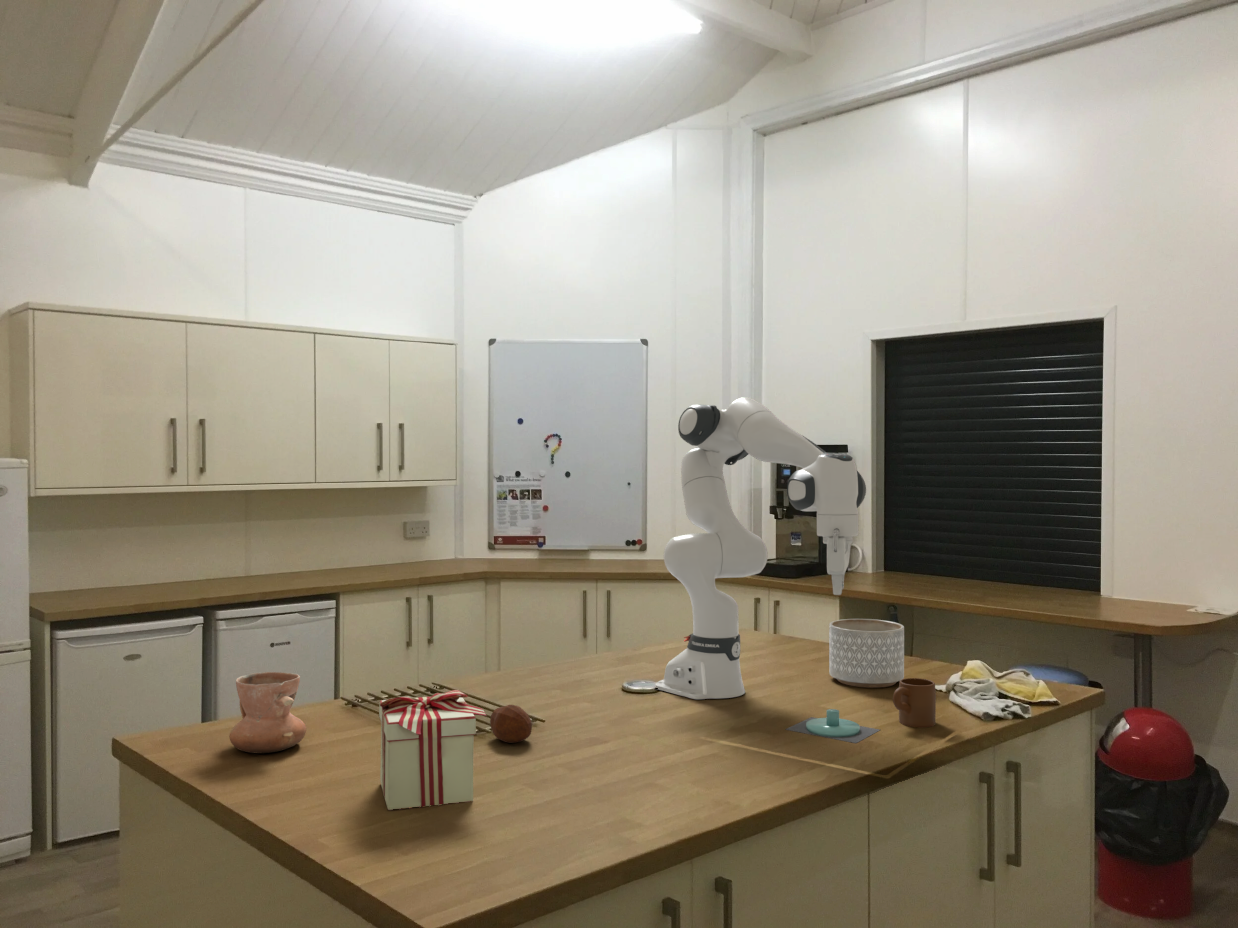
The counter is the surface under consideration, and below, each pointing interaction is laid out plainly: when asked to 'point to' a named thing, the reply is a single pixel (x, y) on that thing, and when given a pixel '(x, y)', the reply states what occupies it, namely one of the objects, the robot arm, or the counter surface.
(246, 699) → the ceramic jug
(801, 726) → the mat
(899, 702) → the mug
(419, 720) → the gift box
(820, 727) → the lid
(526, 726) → the potato
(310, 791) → the counter surface
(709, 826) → the counter surface
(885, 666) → the planter
